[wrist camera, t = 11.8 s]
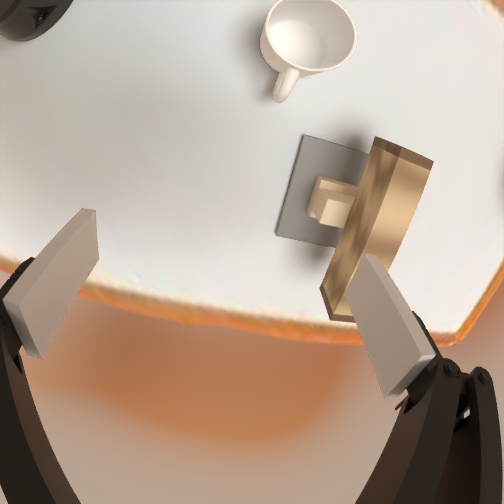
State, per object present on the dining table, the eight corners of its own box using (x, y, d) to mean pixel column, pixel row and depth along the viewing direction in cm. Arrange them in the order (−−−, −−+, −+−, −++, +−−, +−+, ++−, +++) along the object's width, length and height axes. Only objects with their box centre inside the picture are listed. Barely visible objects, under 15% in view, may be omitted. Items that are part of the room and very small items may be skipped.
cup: (336, 33, 27) (368, 15, 18) (303, 114, 33) (325, 121, 24) (272, 8, 25) (283, -21, 17) (239, 91, 31) (237, 89, 22)
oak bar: (375, 135, 27) (401, 147, 22) (404, 147, 28) (433, 161, 23) (319, 288, 37) (330, 320, 32) (346, 292, 38) (359, 323, 32)
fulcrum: (303, 134, 34) (316, 143, 28) (407, 169, 36) (433, 185, 30) (275, 232, 41) (281, 259, 35) (373, 252, 43) (391, 279, 37)
